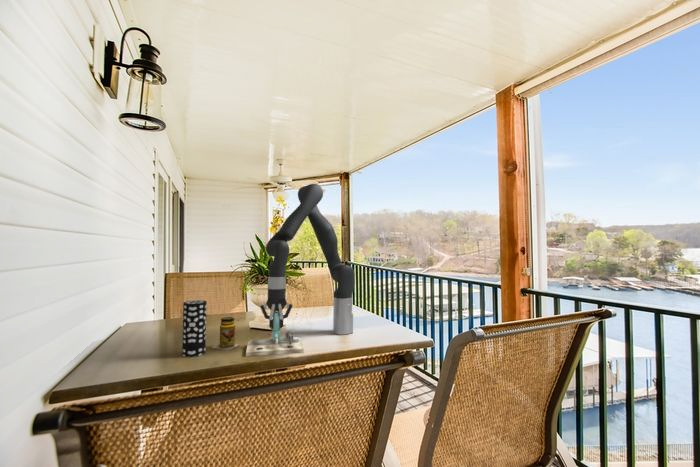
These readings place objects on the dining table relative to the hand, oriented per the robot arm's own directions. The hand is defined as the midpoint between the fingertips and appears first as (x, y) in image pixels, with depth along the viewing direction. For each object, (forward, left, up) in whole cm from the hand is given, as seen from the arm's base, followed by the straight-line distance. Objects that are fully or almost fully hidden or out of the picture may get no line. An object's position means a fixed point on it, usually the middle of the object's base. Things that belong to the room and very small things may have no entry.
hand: (276, 328), depth 143 cm
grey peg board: (+1, +4, -8) cm, 8 cm away
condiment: (+21, -4, -8) cm, 22 cm away
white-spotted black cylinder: (+32, +3, -8) cm, 33 cm away
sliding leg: (0, +3, -5) cm, 6 cm away
